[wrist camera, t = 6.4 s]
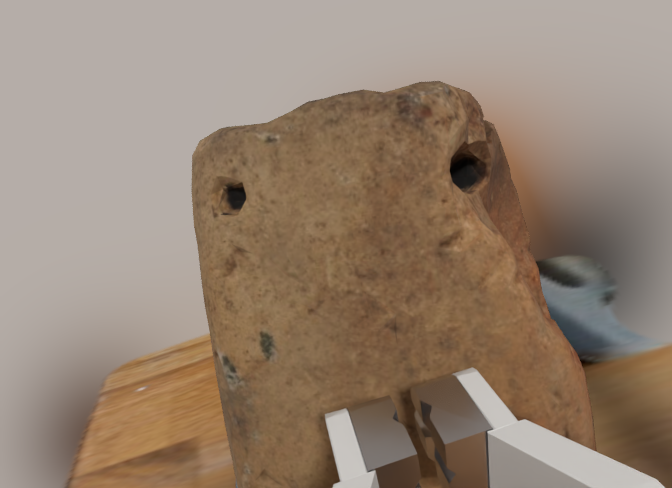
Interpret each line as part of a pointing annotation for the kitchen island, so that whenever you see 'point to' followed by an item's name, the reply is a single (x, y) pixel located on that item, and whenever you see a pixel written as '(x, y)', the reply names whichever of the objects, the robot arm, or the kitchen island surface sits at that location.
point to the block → (369, 276)
